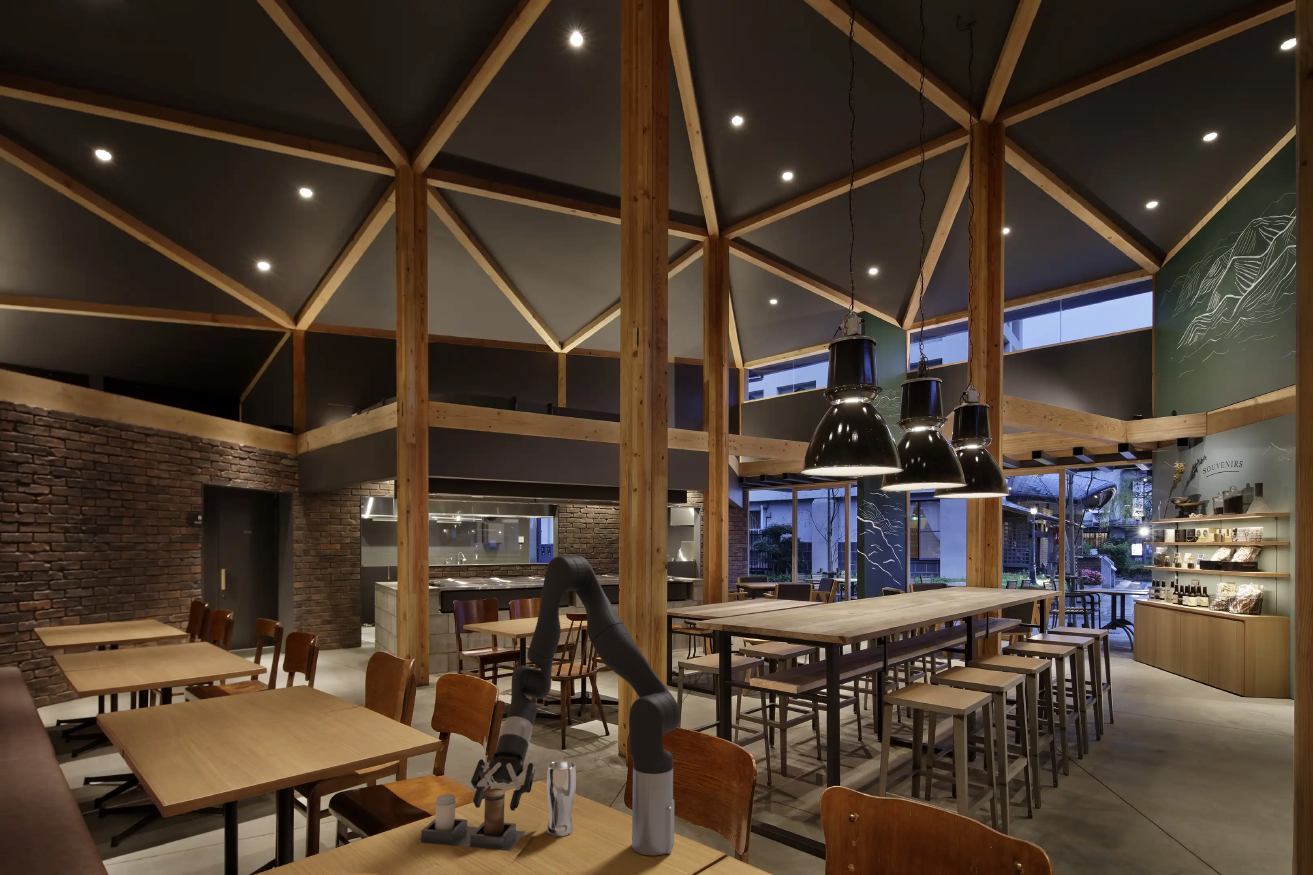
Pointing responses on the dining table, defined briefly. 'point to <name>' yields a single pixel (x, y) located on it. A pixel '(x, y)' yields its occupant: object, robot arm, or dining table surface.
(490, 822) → the brown wooden cylinder
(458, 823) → the condiment caddy
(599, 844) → the dining table surface
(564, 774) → the beer glass
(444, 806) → the salt shaker
